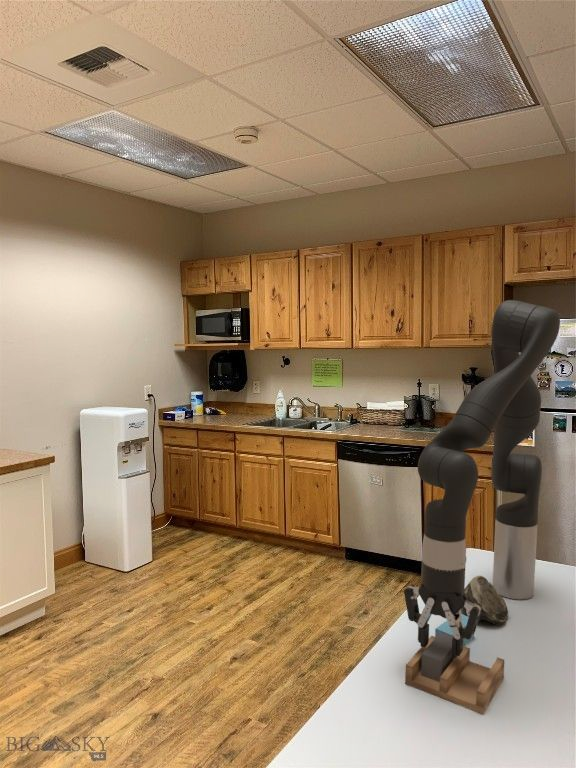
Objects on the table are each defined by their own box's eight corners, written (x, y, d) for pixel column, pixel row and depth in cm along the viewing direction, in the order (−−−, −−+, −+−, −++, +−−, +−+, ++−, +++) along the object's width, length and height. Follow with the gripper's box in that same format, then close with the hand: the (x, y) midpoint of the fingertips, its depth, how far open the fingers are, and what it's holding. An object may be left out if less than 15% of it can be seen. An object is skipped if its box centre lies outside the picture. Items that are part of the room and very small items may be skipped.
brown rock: (514, 630, 120) (492, 586, 120) (472, 644, 122) (450, 601, 122) (507, 604, 130) (487, 564, 130) (468, 617, 133) (448, 578, 133)
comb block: (430, 652, 112) (431, 635, 112) (503, 678, 104) (504, 659, 104) (405, 683, 102) (405, 664, 102) (483, 714, 94) (484, 693, 94)
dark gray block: (439, 652, 110) (440, 632, 110) (458, 658, 108) (459, 638, 108) (421, 675, 103) (421, 653, 103) (440, 682, 101) (441, 660, 101)
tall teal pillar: (457, 631, 120) (458, 612, 120) (474, 638, 118) (474, 619, 118) (434, 647, 114) (435, 628, 114) (451, 655, 112) (452, 635, 111)
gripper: (397, 556, 104) (394, 646, 106) (477, 577, 96) (473, 674, 98) (413, 544, 110) (410, 629, 112) (490, 562, 102) (486, 654, 104)
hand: (439, 650), depth 105 cm, fingers open, 5 cm apart
